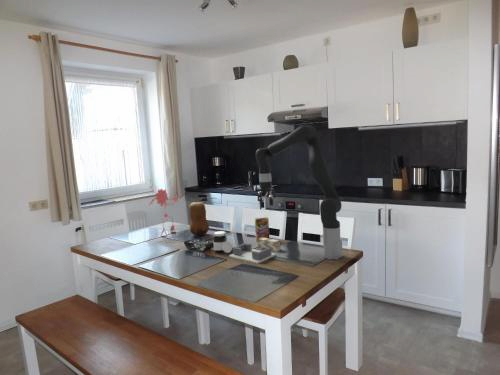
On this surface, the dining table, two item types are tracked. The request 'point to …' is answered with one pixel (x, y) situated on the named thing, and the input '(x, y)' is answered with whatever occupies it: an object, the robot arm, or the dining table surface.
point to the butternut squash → (198, 219)
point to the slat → (269, 243)
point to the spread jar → (221, 242)
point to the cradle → (251, 253)
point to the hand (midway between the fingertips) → (267, 206)
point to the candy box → (261, 228)
